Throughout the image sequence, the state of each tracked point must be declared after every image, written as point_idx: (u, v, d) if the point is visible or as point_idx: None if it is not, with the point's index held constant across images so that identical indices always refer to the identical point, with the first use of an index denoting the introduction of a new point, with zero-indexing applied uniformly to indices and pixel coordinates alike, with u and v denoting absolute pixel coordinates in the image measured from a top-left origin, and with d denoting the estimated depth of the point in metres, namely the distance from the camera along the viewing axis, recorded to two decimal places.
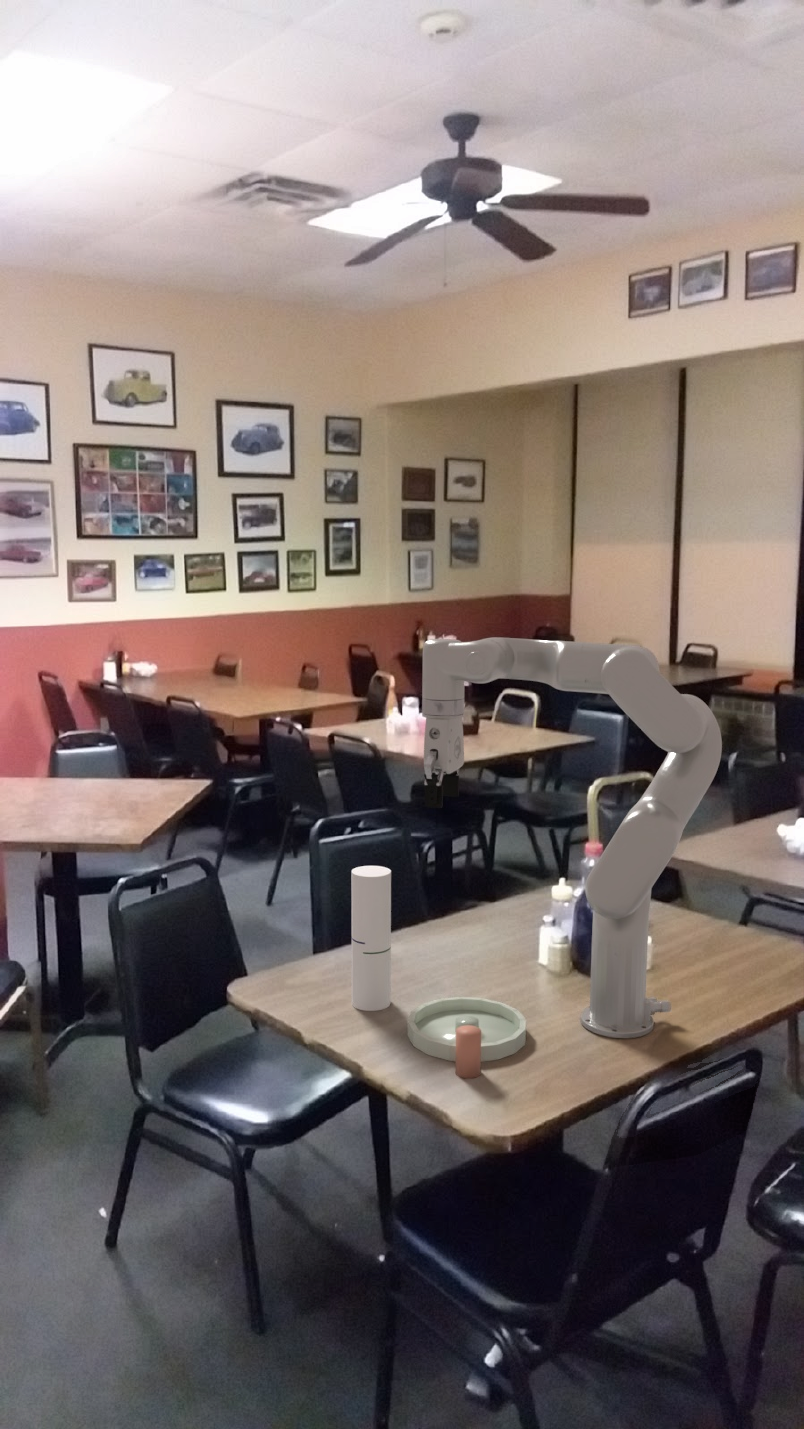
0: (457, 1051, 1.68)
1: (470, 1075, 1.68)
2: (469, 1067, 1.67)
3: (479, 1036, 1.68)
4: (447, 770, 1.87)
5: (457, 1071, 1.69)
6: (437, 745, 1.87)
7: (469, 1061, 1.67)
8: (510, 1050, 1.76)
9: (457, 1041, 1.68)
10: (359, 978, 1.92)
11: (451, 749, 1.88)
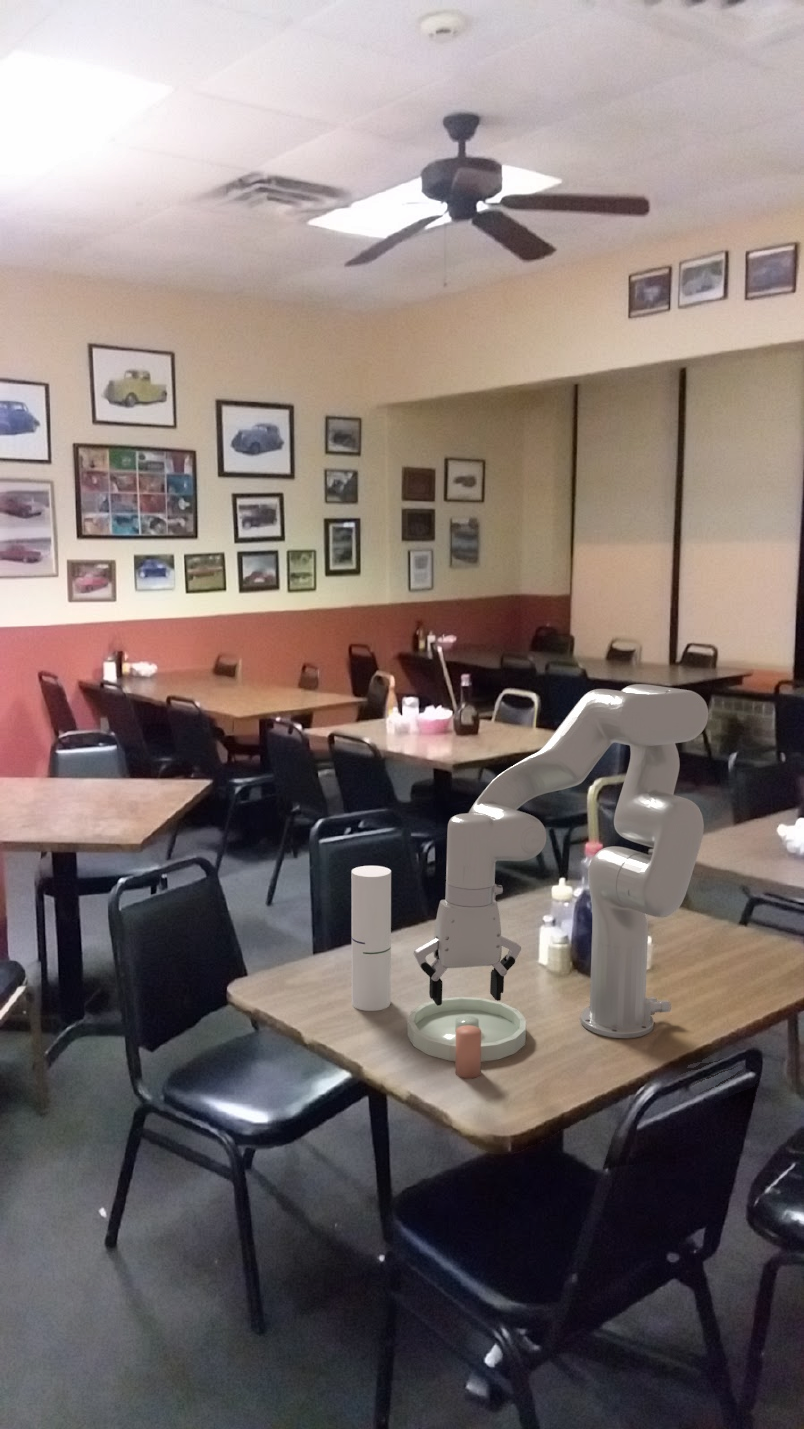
0: (457, 1051, 1.68)
1: (470, 1075, 1.68)
2: (469, 1067, 1.67)
3: (479, 1036, 1.68)
4: None
5: (457, 1071, 1.69)
6: None
7: (469, 1061, 1.67)
8: (510, 1050, 1.76)
9: (457, 1041, 1.68)
10: (359, 978, 1.92)
11: None
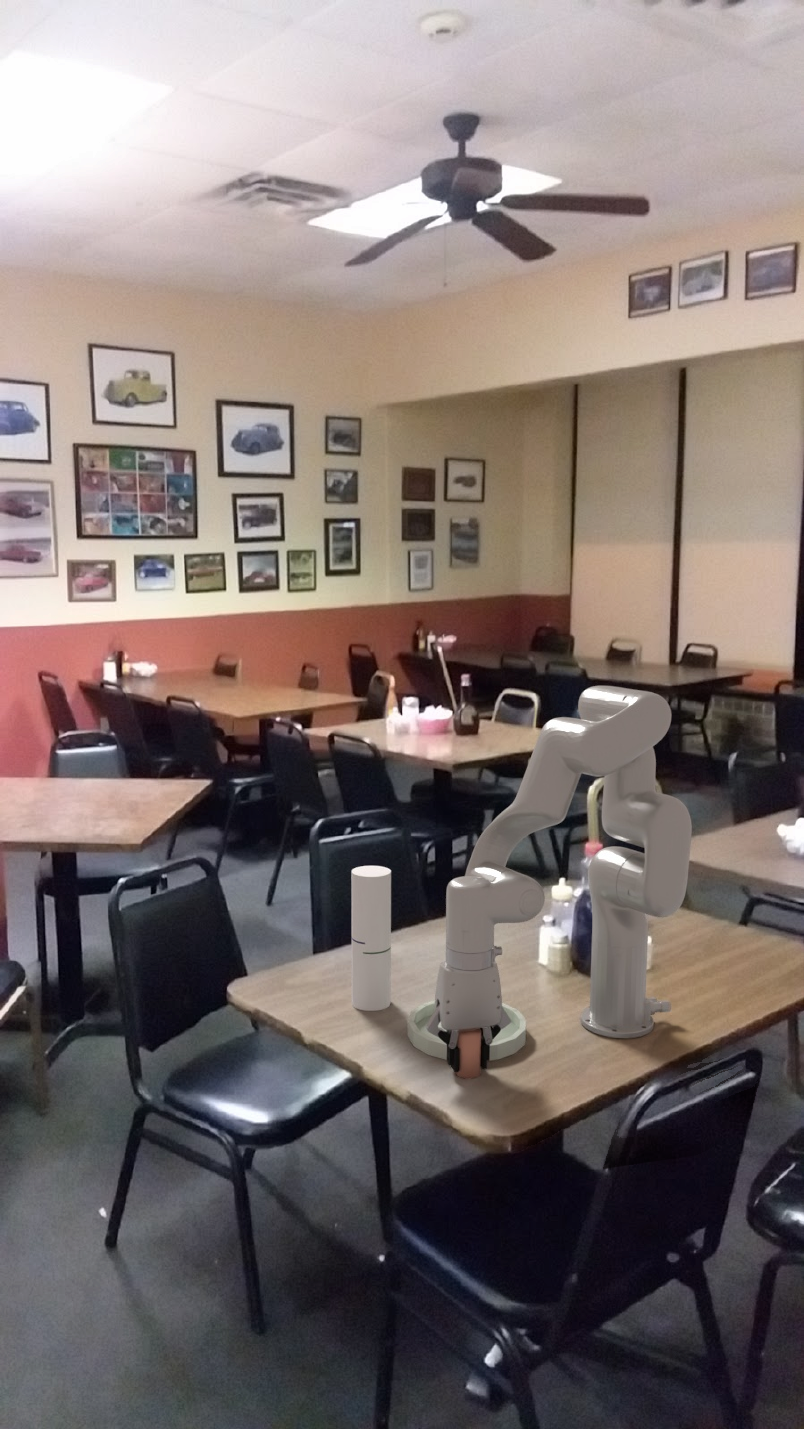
0: None
1: (470, 1075, 1.68)
2: (469, 1067, 1.67)
3: (479, 1036, 1.68)
4: None
5: None
6: None
7: (469, 1061, 1.67)
8: (510, 1050, 1.76)
9: (457, 1041, 1.68)
10: (359, 978, 1.92)
11: None
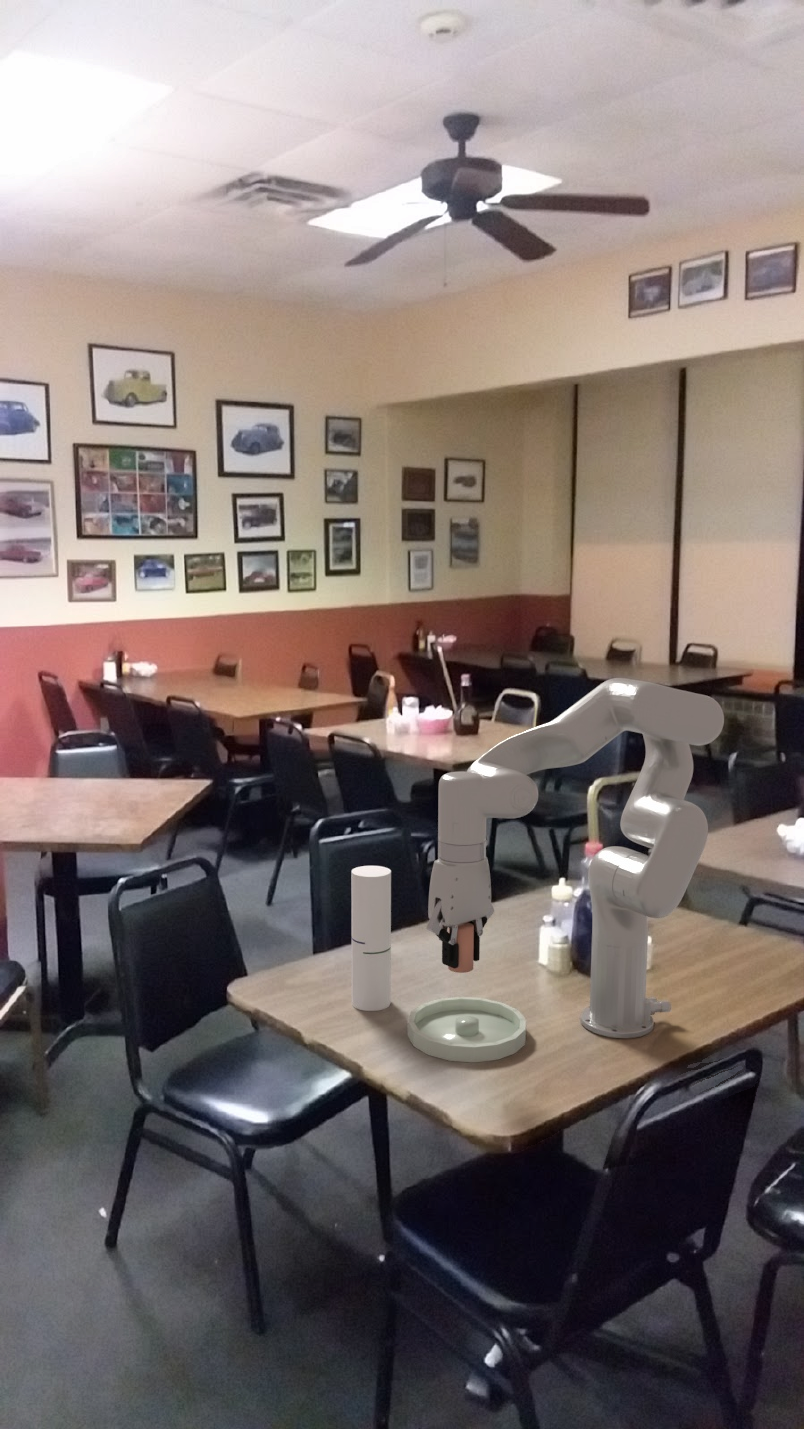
0: None
1: (468, 968, 1.69)
2: (467, 961, 1.69)
3: (473, 929, 1.69)
4: None
5: None
6: None
7: (467, 955, 1.68)
8: (510, 1050, 1.76)
9: None
10: (359, 978, 1.92)
11: None
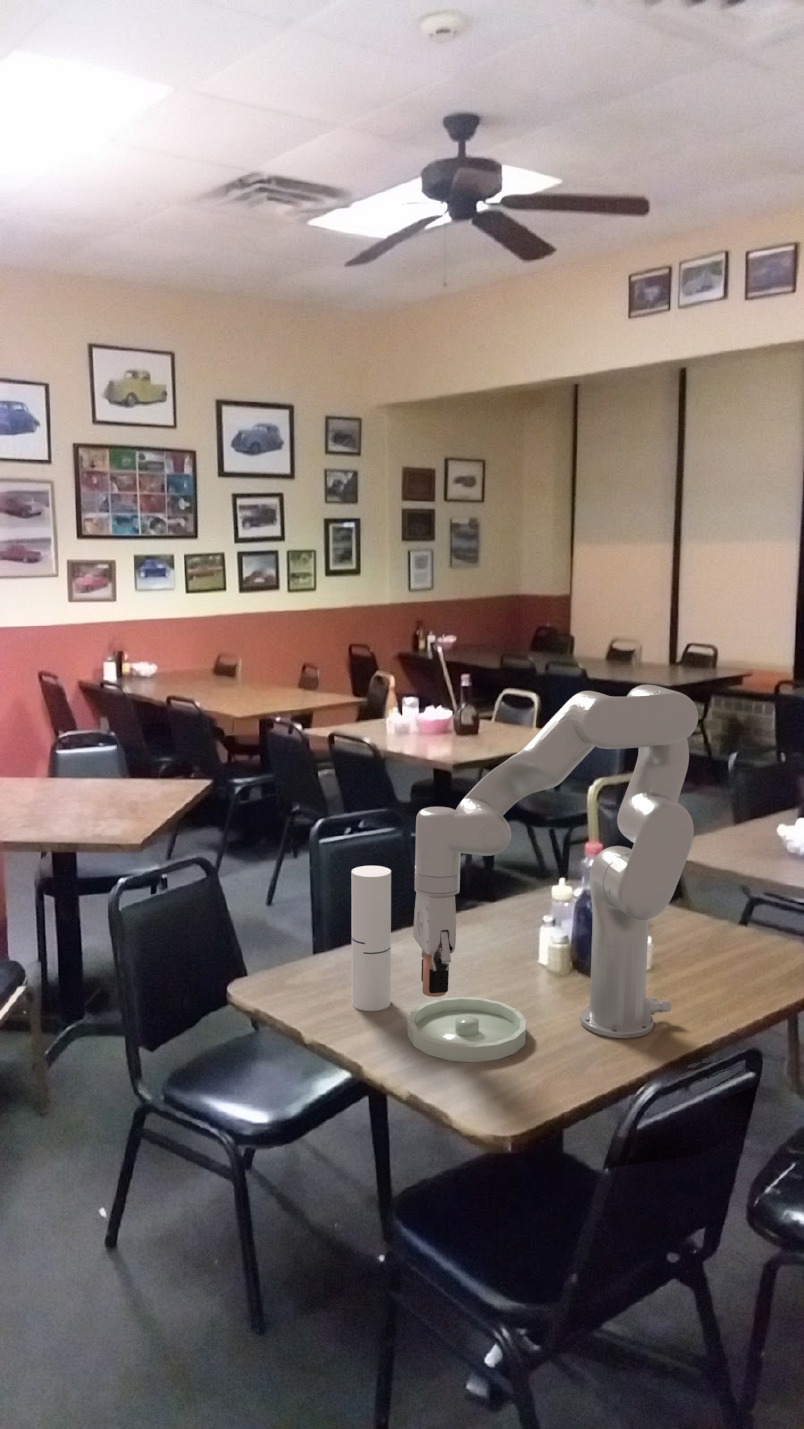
0: None
1: None
2: None
3: None
4: (414, 933, 1.83)
5: None
6: None
7: None
8: (510, 1050, 1.76)
9: None
10: (359, 978, 1.92)
11: (415, 915, 1.81)
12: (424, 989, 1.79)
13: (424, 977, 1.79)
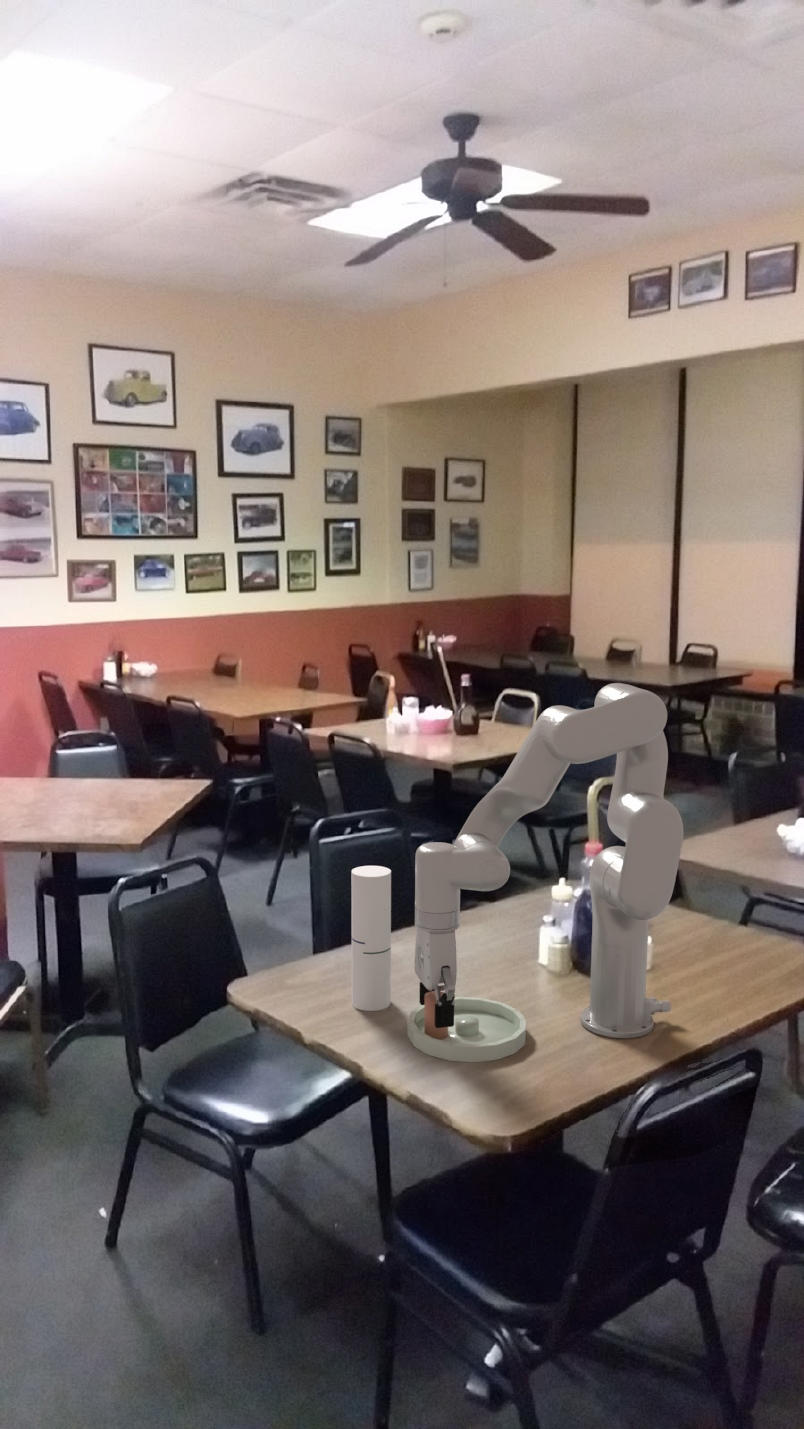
0: None
1: None
2: None
3: None
4: (415, 967, 1.84)
5: (442, 1035, 1.80)
6: None
7: None
8: (510, 1050, 1.76)
9: None
10: (359, 978, 1.92)
11: (416, 950, 1.82)
12: (426, 1032, 1.81)
13: (426, 1020, 1.80)
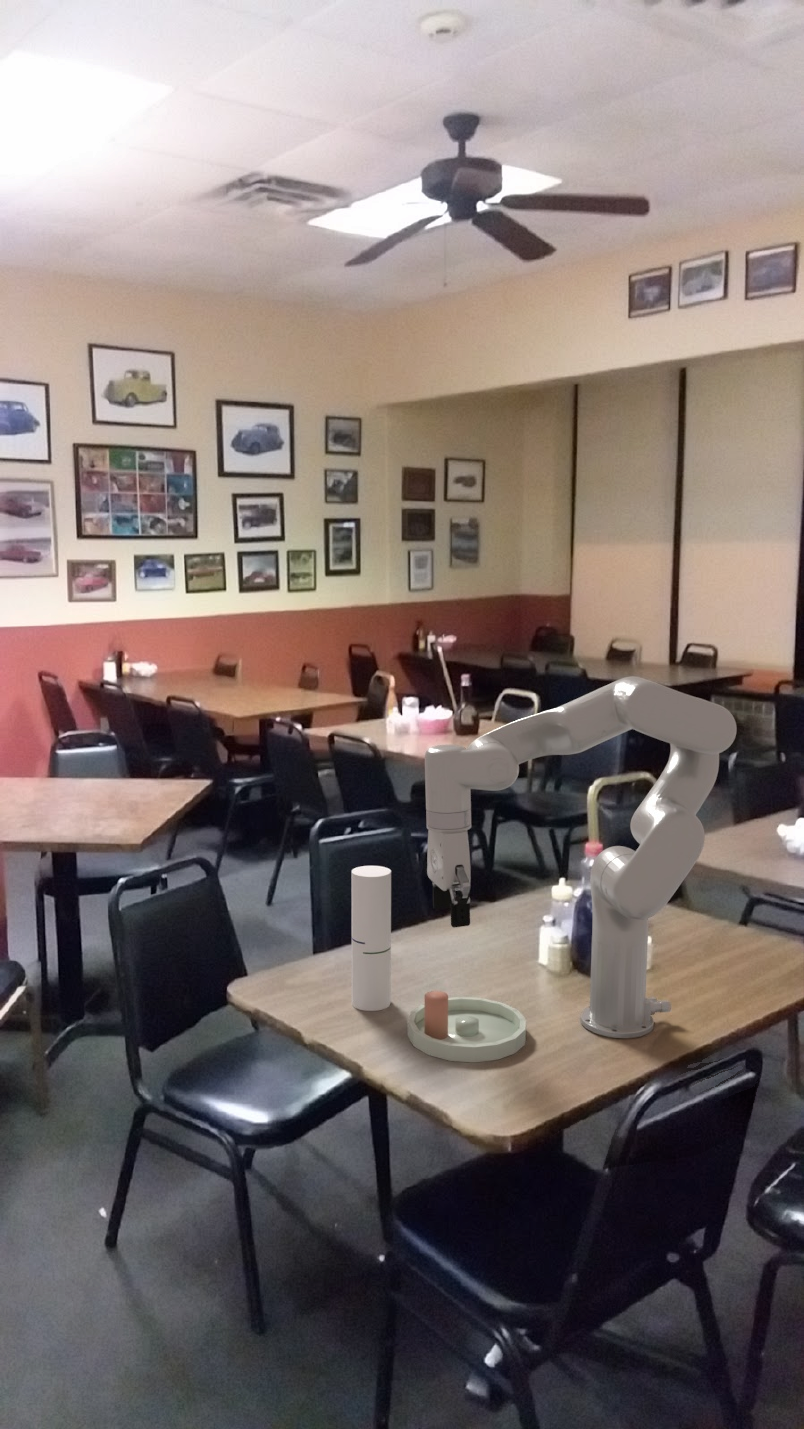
0: (442, 1017, 1.79)
1: None
2: None
3: None
4: (427, 872, 1.84)
5: (442, 1035, 1.80)
6: None
7: None
8: (510, 1050, 1.76)
9: (441, 1007, 1.79)
10: (359, 978, 1.92)
11: (428, 854, 1.83)
12: (426, 1032, 1.81)
13: (426, 1020, 1.80)
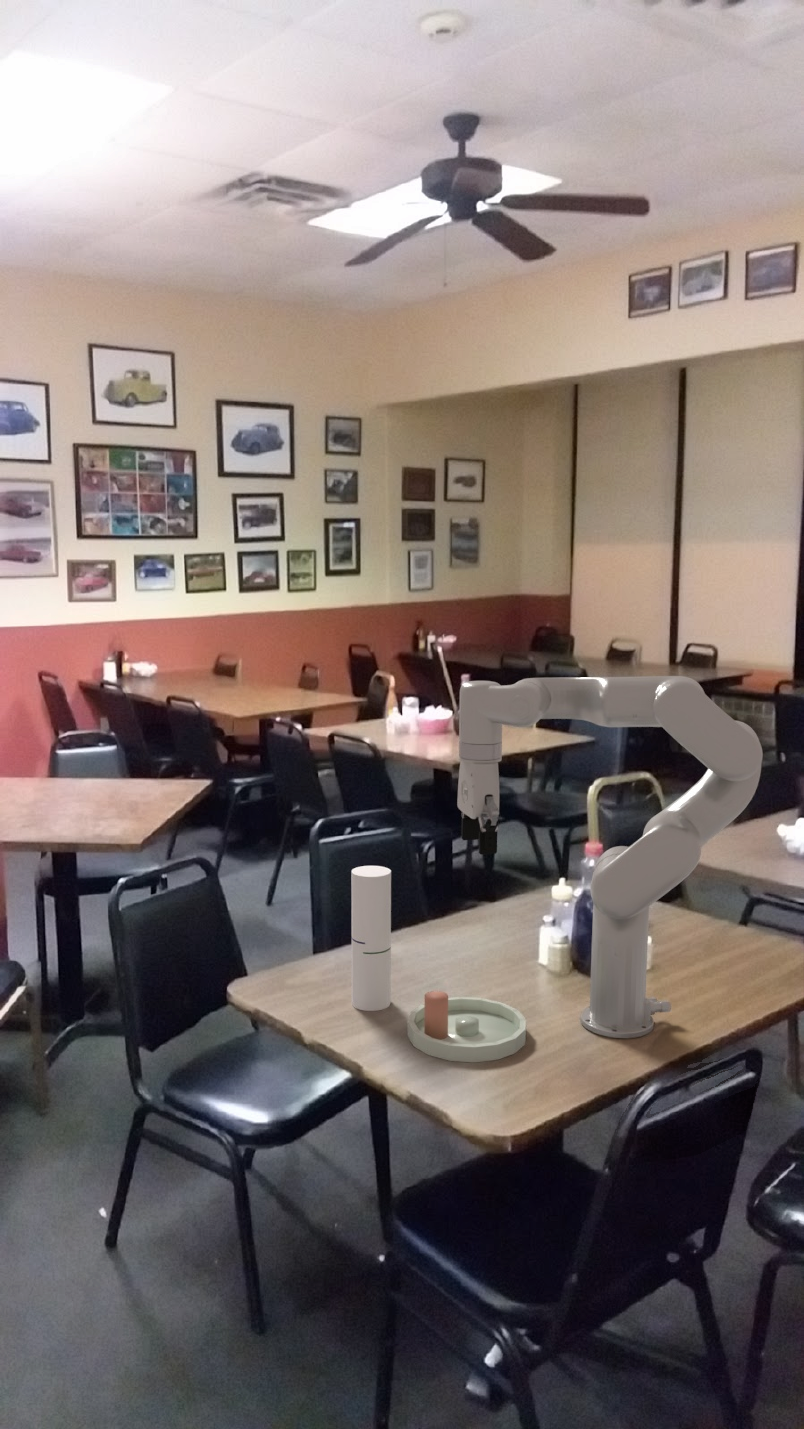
0: (441, 1017, 1.79)
1: None
2: None
3: None
4: (457, 804, 1.93)
5: (442, 1035, 1.80)
6: None
7: (447, 1019, 1.81)
8: (510, 1050, 1.76)
9: (441, 1007, 1.79)
10: (359, 978, 1.92)
11: (459, 786, 1.91)
12: (426, 1032, 1.81)
13: (426, 1020, 1.80)
